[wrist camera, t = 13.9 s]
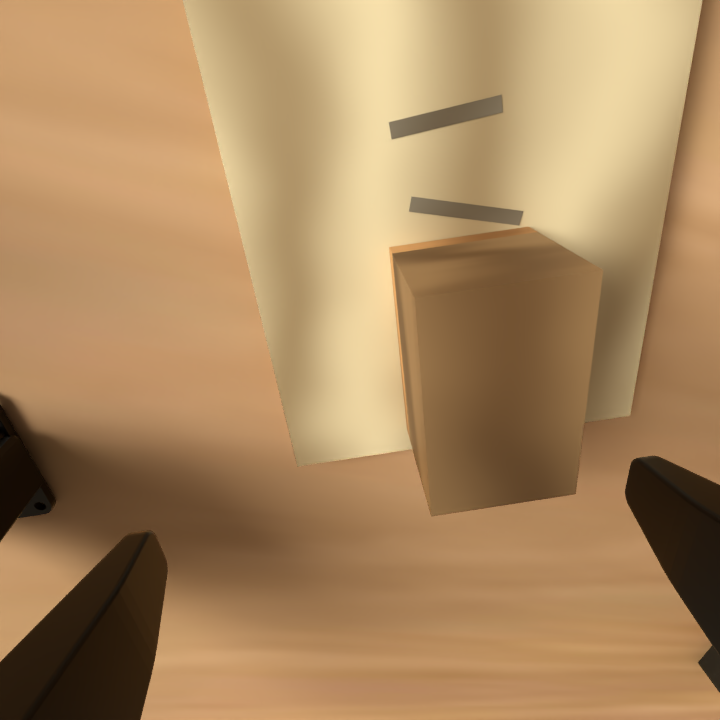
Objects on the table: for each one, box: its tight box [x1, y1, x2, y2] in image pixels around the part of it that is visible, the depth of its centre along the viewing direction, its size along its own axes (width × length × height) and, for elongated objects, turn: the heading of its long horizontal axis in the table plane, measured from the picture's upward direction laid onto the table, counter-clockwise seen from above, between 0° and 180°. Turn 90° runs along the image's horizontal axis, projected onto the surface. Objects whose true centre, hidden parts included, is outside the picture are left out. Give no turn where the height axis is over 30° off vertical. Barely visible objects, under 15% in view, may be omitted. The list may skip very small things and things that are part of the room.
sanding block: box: [389, 227, 603, 516], centre depth 17 cm, size 5×8×5 cm, turn 7°
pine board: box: [183, 0, 702, 467], centre depth 17 cm, size 15×22×2 cm
